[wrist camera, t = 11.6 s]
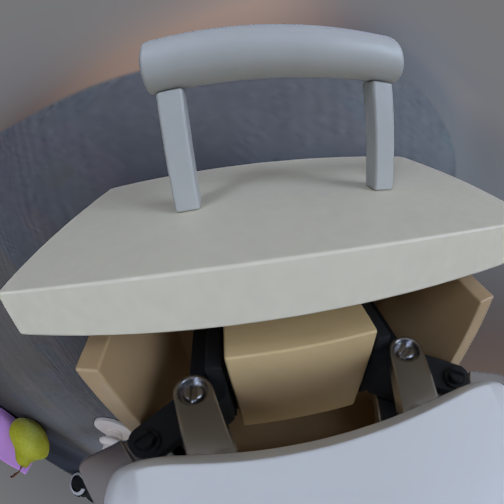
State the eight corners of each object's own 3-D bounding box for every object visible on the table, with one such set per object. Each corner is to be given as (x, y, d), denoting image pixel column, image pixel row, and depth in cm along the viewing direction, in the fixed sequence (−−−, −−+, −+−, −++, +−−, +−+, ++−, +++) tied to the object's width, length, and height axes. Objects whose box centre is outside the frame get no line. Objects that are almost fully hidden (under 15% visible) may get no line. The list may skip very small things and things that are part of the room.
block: (222, 272, 11) (223, 358, 7) (330, 256, 11) (378, 330, 7) (237, 347, 13) (244, 426, 9) (325, 332, 13) (353, 404, 9)
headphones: (57, 490, 30) (126, 502, 32) (59, 465, 36) (125, 474, 39) (95, 505, 38) (157, 512, 41) (95, 484, 45) (154, 489, 48)
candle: (98, 412, 21) (81, 496, 12) (143, 429, 23) (135, 512, 14) (92, 425, 23) (78, 497, 14) (131, 440, 25) (124, 511, 16)
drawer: (94, 97, 9) (-52, 105, 2) (398, 71, 9) (541, 72, 2) (182, 381, 17) (176, 484, 10) (369, 351, 18) (412, 440, 11)
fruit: (44, 419, 23) (26, 486, 13) (59, 437, 26) (47, 496, 16) (10, 403, 22) (-10, 464, 12) (27, 423, 25) (12, 478, 15)
